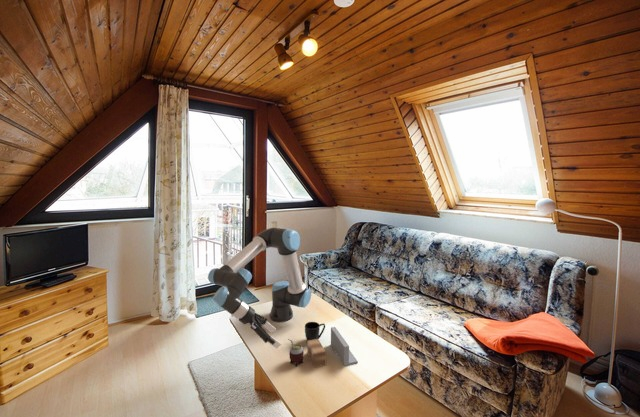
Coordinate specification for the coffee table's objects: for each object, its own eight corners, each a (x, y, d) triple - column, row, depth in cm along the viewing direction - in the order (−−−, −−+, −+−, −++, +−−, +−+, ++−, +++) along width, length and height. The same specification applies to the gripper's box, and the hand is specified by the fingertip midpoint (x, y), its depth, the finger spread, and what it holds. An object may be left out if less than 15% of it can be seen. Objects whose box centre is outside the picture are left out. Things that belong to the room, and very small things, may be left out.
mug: (327, 342, 161) (327, 326, 160) (307, 346, 157) (307, 330, 156) (322, 334, 169) (322, 319, 168) (302, 338, 165) (302, 323, 163)
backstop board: (330, 344, 159) (330, 327, 158) (342, 342, 161) (343, 325, 160) (344, 366, 141) (344, 346, 140) (357, 363, 143) (357, 344, 142)
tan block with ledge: (306, 353, 151) (306, 340, 150) (318, 351, 153) (318, 338, 152) (313, 367, 140) (313, 354, 139) (325, 365, 142) (325, 351, 141)
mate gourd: (303, 358, 147) (303, 330, 146) (303, 368, 139) (303, 339, 138) (289, 358, 147) (288, 330, 145) (287, 368, 139) (287, 339, 138)
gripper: (236, 307, 143) (267, 331, 149) (238, 332, 119) (275, 360, 126) (247, 295, 144) (277, 319, 150) (251, 318, 121) (286, 346, 127)
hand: (276, 338), depth 138 cm, fingers open, 13 cm apart
